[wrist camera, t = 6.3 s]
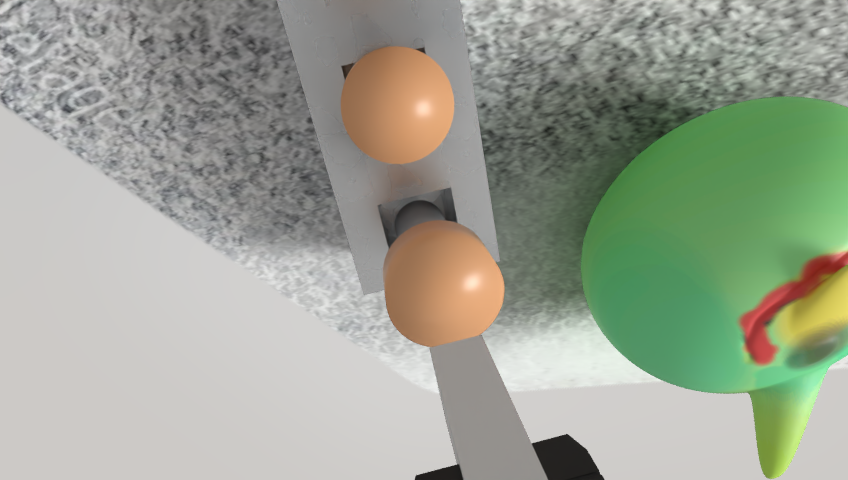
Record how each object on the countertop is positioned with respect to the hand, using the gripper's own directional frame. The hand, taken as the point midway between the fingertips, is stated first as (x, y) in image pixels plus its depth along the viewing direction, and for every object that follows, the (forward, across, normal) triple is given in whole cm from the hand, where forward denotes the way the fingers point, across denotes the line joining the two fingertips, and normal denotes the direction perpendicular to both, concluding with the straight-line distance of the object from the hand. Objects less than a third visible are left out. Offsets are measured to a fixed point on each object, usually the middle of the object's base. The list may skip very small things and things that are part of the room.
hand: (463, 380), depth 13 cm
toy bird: (+19, +19, -6) cm, 27 cm away
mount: (+19, 0, +7) cm, 20 cm away
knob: (+13, 0, 0) cm, 13 cm away
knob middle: (+17, 0, +7) cm, 18 cm away
